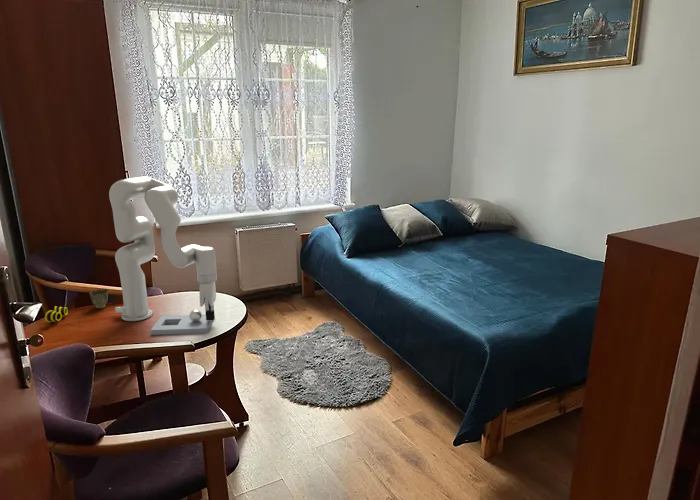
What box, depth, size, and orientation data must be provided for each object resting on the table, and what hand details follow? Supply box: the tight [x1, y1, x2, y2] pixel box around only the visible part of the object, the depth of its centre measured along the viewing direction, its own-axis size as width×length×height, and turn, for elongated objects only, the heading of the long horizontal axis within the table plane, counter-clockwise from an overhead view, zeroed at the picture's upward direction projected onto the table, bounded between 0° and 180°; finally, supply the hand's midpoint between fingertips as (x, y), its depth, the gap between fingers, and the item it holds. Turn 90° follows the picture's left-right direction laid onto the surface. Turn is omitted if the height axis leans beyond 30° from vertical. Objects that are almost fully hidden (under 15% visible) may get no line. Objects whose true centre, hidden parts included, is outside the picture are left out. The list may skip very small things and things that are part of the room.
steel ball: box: [188, 309, 203, 322], centre depth 201 cm, size 5×5×5 cm
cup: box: [89, 288, 109, 310], centre depth 221 cm, size 8×7×8 cm
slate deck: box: [150, 313, 214, 336], centre depth 202 cm, size 22×15×2 cm
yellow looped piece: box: [44, 305, 69, 323], centre depth 209 cm, size 10×5×5 cm, turn 4°
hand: (210, 319), depth 202 cm, fingers closed
